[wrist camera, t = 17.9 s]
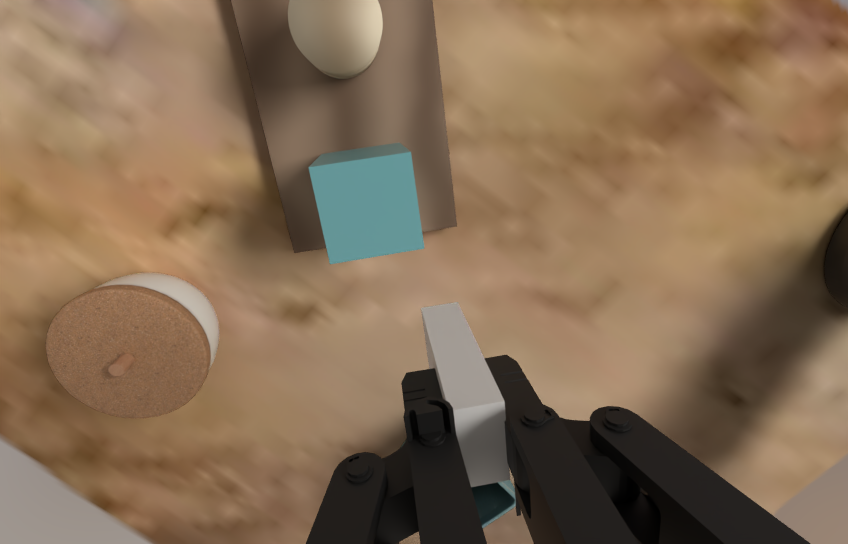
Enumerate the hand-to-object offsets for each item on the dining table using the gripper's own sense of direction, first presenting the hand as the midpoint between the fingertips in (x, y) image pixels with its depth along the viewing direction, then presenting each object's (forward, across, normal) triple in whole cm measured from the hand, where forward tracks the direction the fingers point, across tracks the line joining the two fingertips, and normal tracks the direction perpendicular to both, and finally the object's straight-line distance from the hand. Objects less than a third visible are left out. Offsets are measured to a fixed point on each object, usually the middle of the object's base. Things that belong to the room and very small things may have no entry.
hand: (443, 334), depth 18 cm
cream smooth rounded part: (+22, +3, -14) cm, 26 cm away
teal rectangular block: (+21, +3, -3) cm, 21 cm away
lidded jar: (+22, +22, +6) cm, 31 cm away
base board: (+22, +3, -9) cm, 24 cm away
